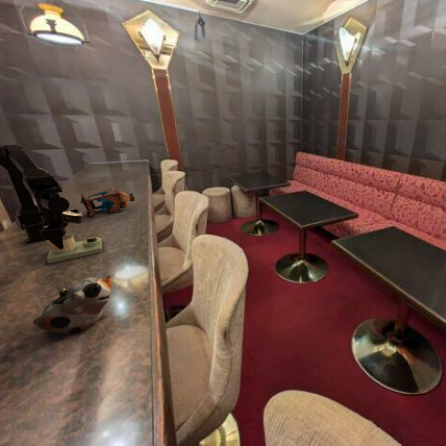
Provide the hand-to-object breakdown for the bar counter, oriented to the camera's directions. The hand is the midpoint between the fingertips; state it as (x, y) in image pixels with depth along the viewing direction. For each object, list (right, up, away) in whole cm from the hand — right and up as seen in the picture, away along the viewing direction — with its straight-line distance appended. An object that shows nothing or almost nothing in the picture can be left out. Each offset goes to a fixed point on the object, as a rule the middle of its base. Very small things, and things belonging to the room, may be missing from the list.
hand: (62, 245), depth 97 cm
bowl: (0, -2, +1) cm, 2 cm away
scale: (+3, -3, +3) cm, 5 cm away
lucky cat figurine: (+35, -17, -30) cm, 49 cm away
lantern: (-18, +16, +49) cm, 55 cm away
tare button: (+7, +1, +5) cm, 9 cm away
